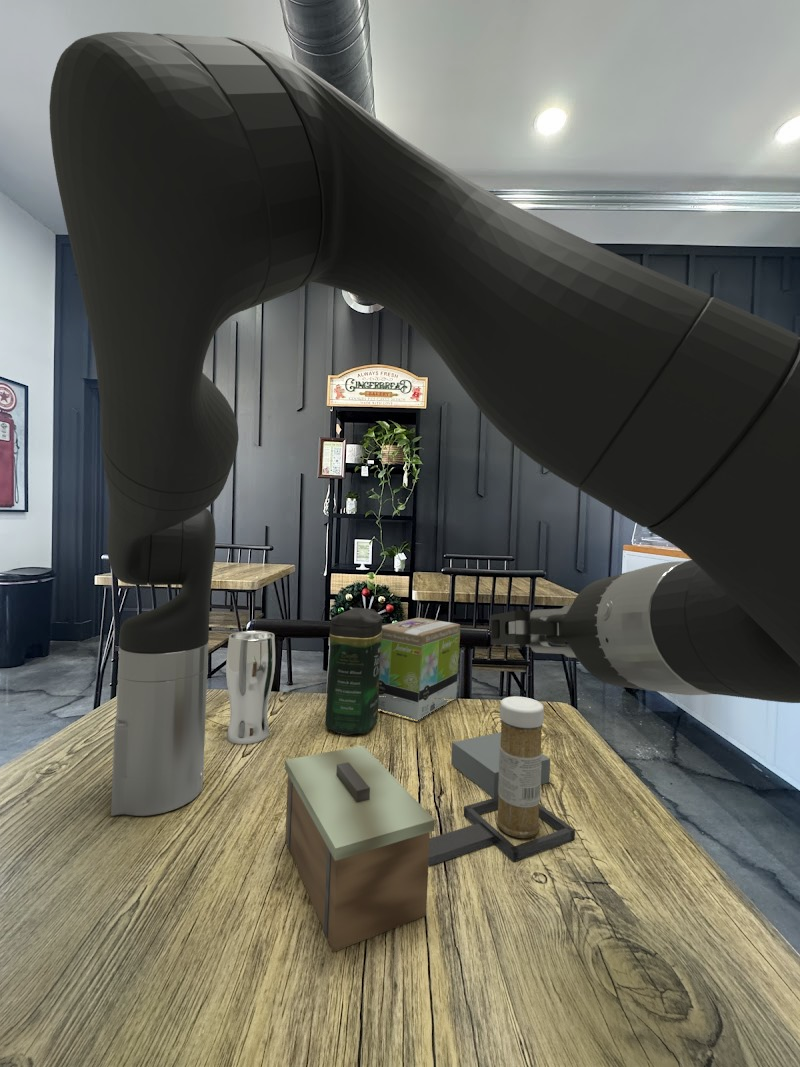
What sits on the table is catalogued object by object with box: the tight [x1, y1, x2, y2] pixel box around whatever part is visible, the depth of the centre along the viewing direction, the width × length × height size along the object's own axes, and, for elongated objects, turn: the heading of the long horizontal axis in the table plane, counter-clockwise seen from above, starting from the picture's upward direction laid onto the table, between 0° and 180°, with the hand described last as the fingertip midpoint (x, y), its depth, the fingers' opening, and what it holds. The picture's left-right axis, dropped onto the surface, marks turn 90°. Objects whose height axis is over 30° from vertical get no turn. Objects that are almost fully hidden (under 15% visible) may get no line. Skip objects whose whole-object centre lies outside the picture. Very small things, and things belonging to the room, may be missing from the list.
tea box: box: [378, 617, 461, 721], centre depth 86 cm, size 15×10×15 cm, turn 148°
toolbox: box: [284, 744, 436, 953], centre depth 43 cm, size 8×15×9 cm, turn 28°
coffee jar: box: [324, 607, 383, 736], centre depth 76 cm, size 10×8×19 cm
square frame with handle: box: [428, 797, 576, 867], centre depth 49 cm, size 16×8×1 cm, turn 118°
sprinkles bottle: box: [496, 696, 545, 839], centre depth 51 cm, size 5×5×14 cm
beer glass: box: [225, 630, 276, 745], centre depth 71 cm, size 7×7×15 cm
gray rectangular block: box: [450, 731, 551, 798], centre depth 62 cm, size 9×9×3 cm
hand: (548, 635), depth 45 cm, fingers open, 8 cm apart
